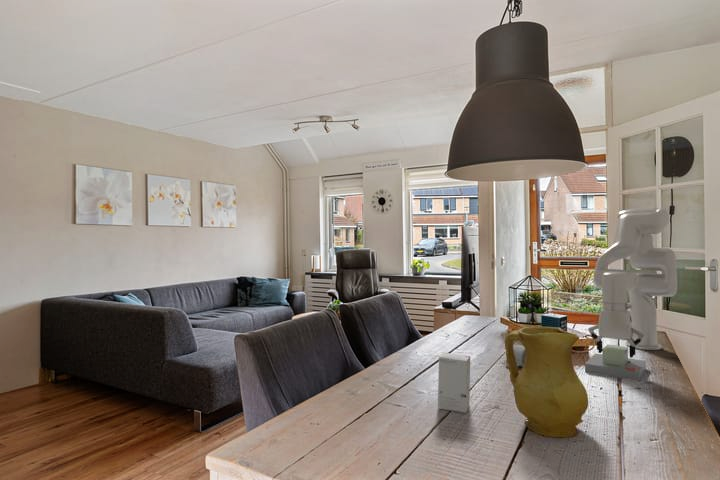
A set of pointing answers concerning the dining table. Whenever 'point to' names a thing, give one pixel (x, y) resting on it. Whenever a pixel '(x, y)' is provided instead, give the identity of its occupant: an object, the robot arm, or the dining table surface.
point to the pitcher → (547, 381)
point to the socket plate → (616, 368)
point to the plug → (615, 355)
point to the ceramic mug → (518, 355)
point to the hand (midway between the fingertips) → (615, 354)
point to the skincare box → (454, 382)
